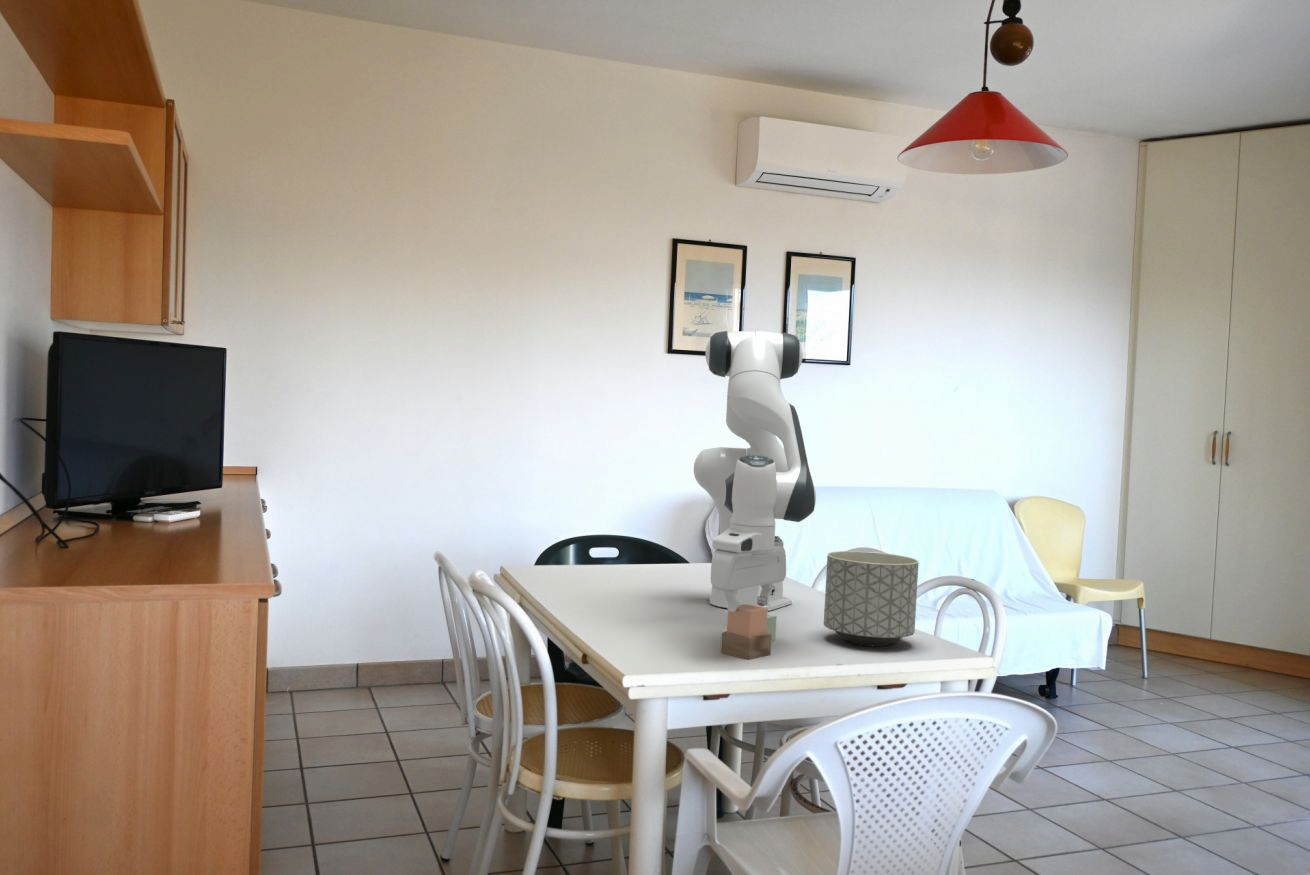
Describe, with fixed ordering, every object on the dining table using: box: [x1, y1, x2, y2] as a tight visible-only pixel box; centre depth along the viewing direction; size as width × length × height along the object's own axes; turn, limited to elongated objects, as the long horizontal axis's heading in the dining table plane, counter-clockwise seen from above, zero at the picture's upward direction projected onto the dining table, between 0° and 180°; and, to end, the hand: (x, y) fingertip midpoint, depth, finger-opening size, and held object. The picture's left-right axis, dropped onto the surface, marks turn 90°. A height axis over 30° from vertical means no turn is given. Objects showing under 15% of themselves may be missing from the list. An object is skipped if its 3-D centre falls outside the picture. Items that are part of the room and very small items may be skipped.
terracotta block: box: [726, 604, 769, 637], centre depth 196 cm, size 6×6×5 cm
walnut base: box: [720, 630, 772, 660], centre depth 196 cm, size 7×7×4 cm
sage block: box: [766, 613, 777, 641], centre depth 211 cm, size 6×6×5 cm
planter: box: [823, 550, 920, 647], centre depth 213 cm, size 19×19×18 cm
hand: (748, 608), depth 197 cm, fingers open, 8 cm apart
